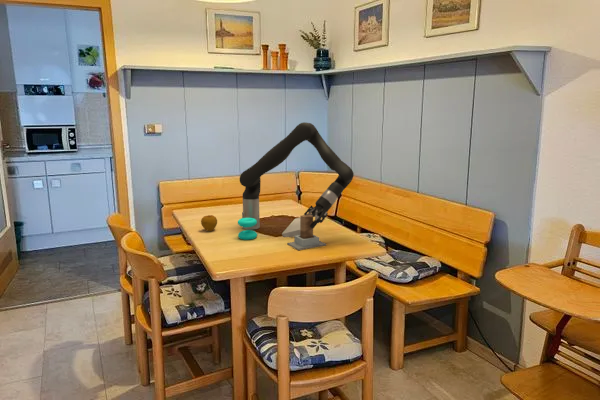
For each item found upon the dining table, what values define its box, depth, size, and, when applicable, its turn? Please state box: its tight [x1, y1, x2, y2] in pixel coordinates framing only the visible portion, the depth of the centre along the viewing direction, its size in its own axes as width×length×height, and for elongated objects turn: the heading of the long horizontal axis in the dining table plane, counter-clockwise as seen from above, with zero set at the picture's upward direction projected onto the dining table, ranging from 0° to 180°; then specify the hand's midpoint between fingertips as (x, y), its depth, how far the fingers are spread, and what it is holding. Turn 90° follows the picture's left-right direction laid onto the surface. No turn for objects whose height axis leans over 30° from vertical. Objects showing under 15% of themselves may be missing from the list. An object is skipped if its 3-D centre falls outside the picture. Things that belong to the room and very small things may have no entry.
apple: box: [200, 214, 218, 232], centre depth 254 cm, size 9×9×9 cm
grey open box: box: [287, 234, 327, 251], centre depth 228 cm, size 16×11×4 cm
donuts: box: [237, 217, 258, 241], centre depth 240 cm, size 10×10×10 cm
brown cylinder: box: [299, 214, 314, 239], centre depth 227 cm, size 5×4×14 cm
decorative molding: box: [281, 217, 300, 238], centre depth 258 cm, size 34×5×10 cm
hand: (306, 225), depth 226 cm, fingers open, 8 cm apart
